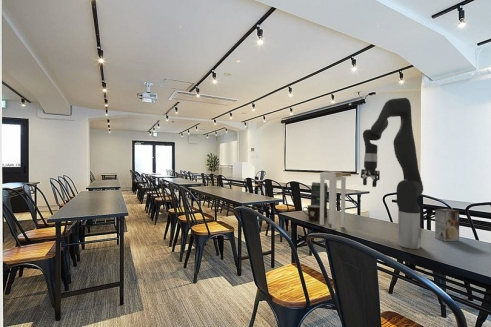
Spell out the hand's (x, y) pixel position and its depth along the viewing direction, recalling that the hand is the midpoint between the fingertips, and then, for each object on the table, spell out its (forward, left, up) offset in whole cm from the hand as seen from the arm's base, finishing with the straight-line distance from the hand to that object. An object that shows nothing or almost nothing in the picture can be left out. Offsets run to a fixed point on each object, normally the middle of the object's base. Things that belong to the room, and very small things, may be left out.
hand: (369, 186), depth 162 cm
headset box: (+41, -11, -26) cm, 50 cm away
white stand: (+17, +16, -26) cm, 35 cm away
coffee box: (-39, -4, -26) cm, 47 cm away
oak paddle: (+15, +10, +6) cm, 19 cm away
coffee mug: (+35, +10, -26) cm, 45 cm away
